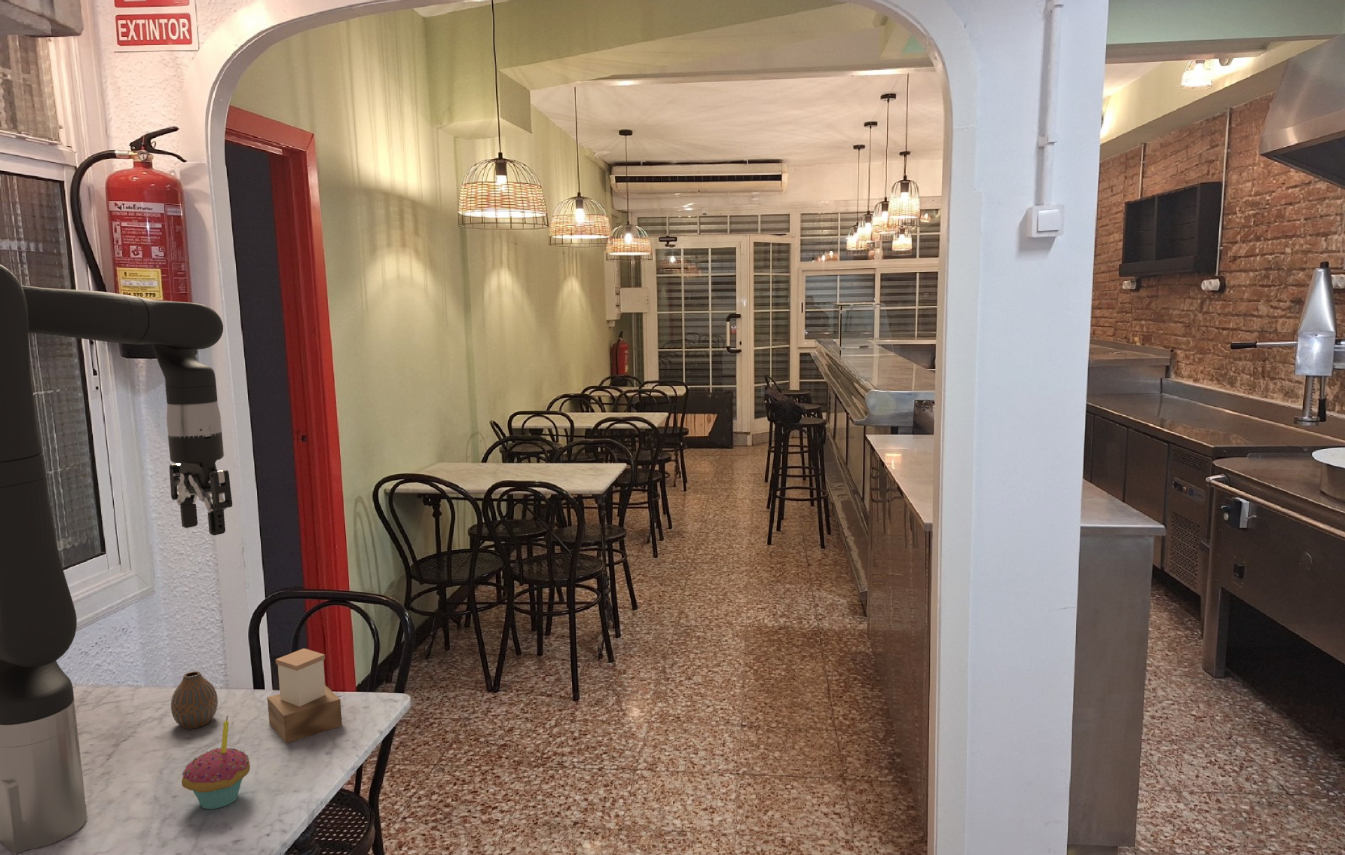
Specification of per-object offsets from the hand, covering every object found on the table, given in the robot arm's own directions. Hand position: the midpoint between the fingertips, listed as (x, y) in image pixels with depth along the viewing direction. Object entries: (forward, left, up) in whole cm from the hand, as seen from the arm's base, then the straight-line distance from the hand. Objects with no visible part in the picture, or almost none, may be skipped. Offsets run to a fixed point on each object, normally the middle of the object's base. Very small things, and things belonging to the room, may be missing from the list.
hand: (203, 530), depth 139 cm
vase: (-1, +6, -34) cm, 35 cm away
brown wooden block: (+9, -10, -34) cm, 37 cm away
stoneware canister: (+9, -10, -29) cm, 32 cm away
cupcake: (-11, -21, -34) cm, 42 cm away
